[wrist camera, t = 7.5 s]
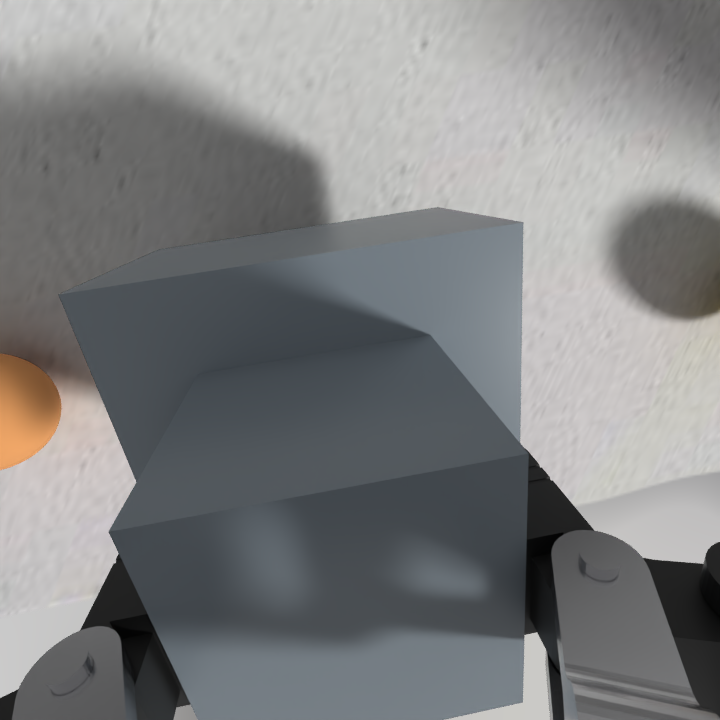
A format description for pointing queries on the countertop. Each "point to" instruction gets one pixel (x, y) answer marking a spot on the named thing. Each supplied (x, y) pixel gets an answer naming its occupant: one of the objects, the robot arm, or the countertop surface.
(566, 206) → the countertop surface
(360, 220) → the gray stepped step block
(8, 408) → the brown egg
